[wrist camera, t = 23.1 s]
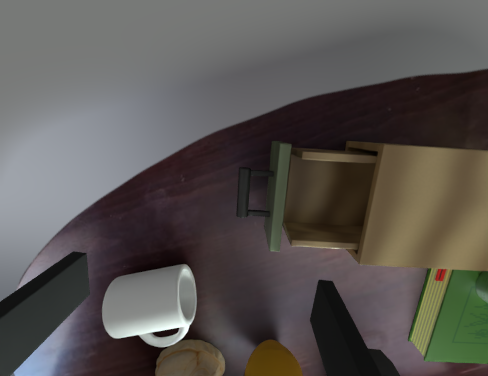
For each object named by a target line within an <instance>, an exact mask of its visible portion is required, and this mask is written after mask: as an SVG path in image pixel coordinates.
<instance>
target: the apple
mask: <svg viewBox="0 0 488 376" xmlns="http://www.w3.org/2000/svg"><path fill="white" fill-rule="evenodd" d="M244 376H303V374H302V371H301V367H300V365H299V363H298V361H297V360H296V358H295V357H294V356H293V354H292V353H291V352H290V351H289V350H288V349H287V348H285V347H284V346H283V345H282V344H280V343H279V342H277V341H275V340H266V341H264V342H262V343H260V344H259V345H258V346H257V347H256V349H255V350H254V351H253V353H252V354H251V356H250V358H249V360H248V363H247V365H246V369H245V375H244Z"/></svg>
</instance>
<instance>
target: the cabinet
mask: <svg viewBox="0 0 488 376" xmlns="http://www.w3.org/2000/svg"><path fill="white" fill-rule="evenodd" d="M345 151H355V152H370V153H378V156H377V161H376V165H375V170H374V175H373V180H372V185H371V190H370V195H369V200H368V205H367V210H366V215H365V220H364V225H363V230H362V234H361V239H360V244H359V249H346V250H347V251H348V252H349V253H350V254H351V255H352V257H353V258H354V259H355V260H356V261H357V262H358V264H359V265H377V266H396V267H415V268H435V269H454V270H473V271H488V150H478V149H465V148H450V147H434V146H419V145H404V144H388V143H373V142H357V141H346V147H345Z"/></svg>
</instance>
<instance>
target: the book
mask: <svg viewBox="0 0 488 376" xmlns="http://www.w3.org/2000/svg"><path fill="white" fill-rule="evenodd" d="M482 272H483V271H473V270H454V269H435V268H429V269H428V272H427V276H426V279H425V283H424V286H423V290H422V293H421V296H420V300H419V303H418V307H417V310H416V314H415V317H414V321H413V324H412V327H411V331H410V334H409V338H408V341H412V342H413V344H414V345H415V346H416V347H417V349H418V350H419V351H420V352H421V354H422V355H423V356H424V361H432V362H457V363H482V364H488V303H487V302H486V301H485V300H483V299H482V298H481V297H480V296H479V295H478V294H477V291H476V282H477V280H478V277H479V276H480V274H481V273H482Z"/></svg>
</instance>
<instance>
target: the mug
mask: <svg viewBox="0 0 488 376" xmlns="http://www.w3.org/2000/svg"><path fill="white" fill-rule="evenodd" d="M196 303H197V295H196V285H195V280H194V276H193V273H192V271H191V269H190V268H189V266H188V265H186V264H181V265H175V266H170V267H165V268H160V269H155V270H150V271H145V272H139V273H134V274H129V275H124V276H119V277H117V278H116V279H114V280H113V281H112V282H111V284H110V285H109V287H108V289H107V291H106V293H105V296H104V300H103V306H102V318H103V324H104V327H105V329H106V331H107V333H108V334H109V335H110V336H111V337H113V338H124V337H129V336H135V335H139V336H140V337H141V338H142V339H143V340H144V341H145V342H146V343H148V344H150V345H152V346H156V347H167V346H170V345H173V344H175V343H177V342H178V341H179V340H181V339H182V338H183V337H184V336H185V335H186V333H187V332H188V329H189V325H190V324H191V323H192V321H193V319H194V316H195V312H196ZM173 328H179V331H178V333H176V334H174V335H171V336H167V337H157V336H155V335H153V334H152V333H151V332H157V331H162V330H168V329H173Z"/></svg>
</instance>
